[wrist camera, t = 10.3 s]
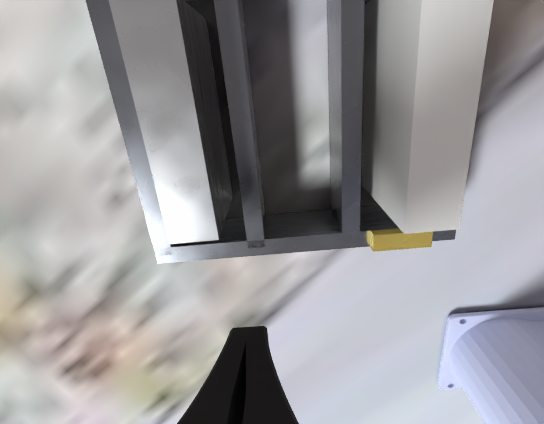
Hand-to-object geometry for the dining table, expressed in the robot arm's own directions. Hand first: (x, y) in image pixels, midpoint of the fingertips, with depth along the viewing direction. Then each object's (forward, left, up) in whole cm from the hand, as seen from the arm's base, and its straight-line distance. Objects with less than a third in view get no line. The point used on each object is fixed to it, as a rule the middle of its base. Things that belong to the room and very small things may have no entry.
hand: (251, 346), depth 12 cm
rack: (-3, -8, -10) cm, 13 cm away
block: (-8, -8, -10) cm, 15 cm away
